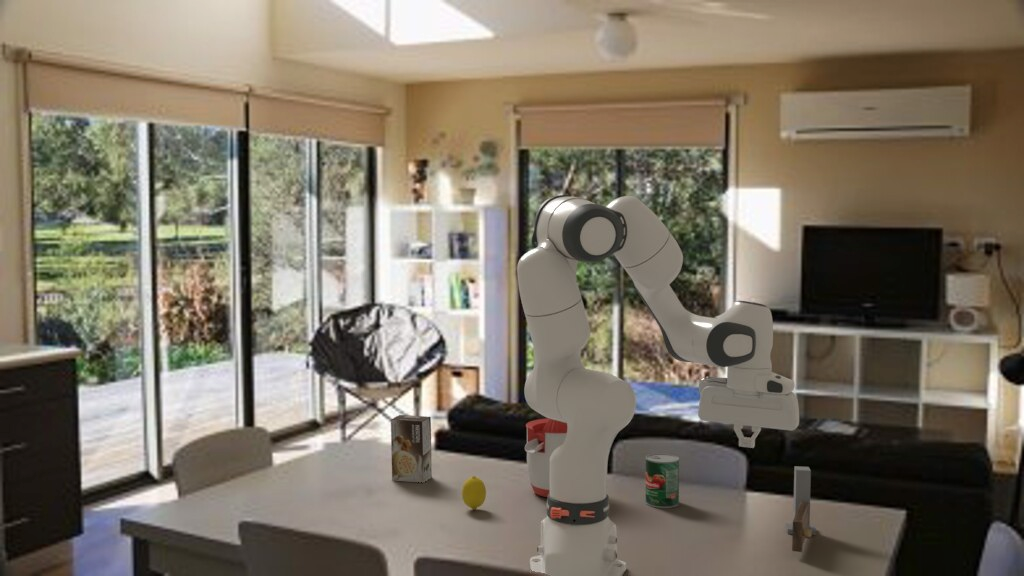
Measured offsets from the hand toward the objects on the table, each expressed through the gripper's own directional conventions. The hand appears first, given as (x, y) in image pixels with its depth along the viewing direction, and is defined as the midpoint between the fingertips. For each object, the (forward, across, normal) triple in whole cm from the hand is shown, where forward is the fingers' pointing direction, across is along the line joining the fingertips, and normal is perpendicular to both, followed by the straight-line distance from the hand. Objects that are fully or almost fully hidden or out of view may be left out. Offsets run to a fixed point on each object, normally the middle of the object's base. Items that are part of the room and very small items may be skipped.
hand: (746, 446), depth 198 cm
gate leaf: (+19, +12, +4) cm, 23 cm away
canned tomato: (+21, -24, +20) cm, 38 cm away
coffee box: (+22, -88, +11) cm, 92 cm away
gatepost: (+20, +9, +14) cm, 26 cm away
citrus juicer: (+21, -50, +16) cm, 57 cm away
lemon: (+22, -61, -4) cm, 65 cm away
